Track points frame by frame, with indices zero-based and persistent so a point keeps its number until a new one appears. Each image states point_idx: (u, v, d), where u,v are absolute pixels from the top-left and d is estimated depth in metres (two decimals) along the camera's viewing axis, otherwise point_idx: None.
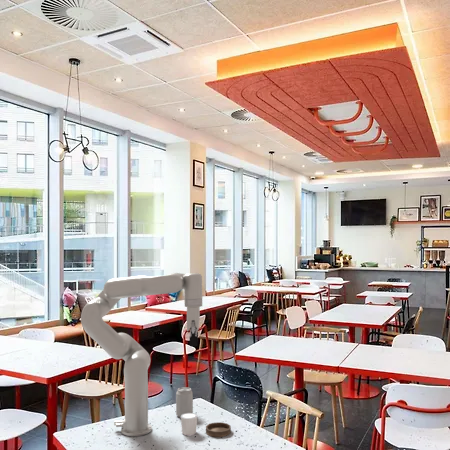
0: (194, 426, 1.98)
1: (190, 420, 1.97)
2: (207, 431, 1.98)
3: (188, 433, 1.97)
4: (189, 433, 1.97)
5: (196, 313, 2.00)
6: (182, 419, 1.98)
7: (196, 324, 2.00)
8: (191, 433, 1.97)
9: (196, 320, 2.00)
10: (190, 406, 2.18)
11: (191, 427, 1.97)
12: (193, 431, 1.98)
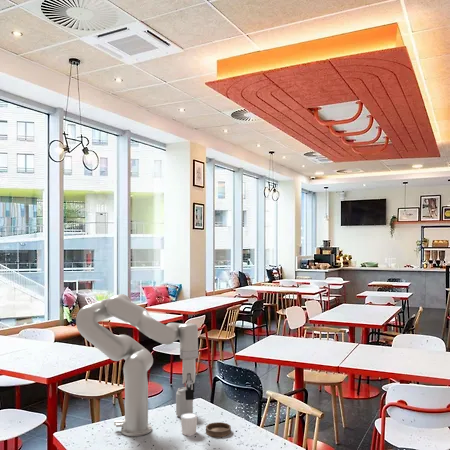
0: (194, 426, 1.98)
1: (190, 420, 1.97)
2: (207, 431, 1.98)
3: (188, 433, 1.97)
4: (189, 433, 1.97)
5: (192, 366, 1.96)
6: (182, 419, 1.98)
7: (192, 377, 1.96)
8: (191, 433, 1.97)
9: (192, 373, 1.96)
10: (190, 406, 2.18)
11: (191, 427, 1.97)
12: (193, 431, 1.98)
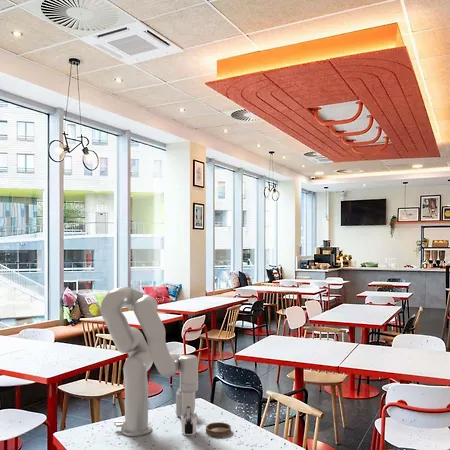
0: (194, 426, 1.98)
1: None
2: (207, 431, 1.98)
3: None
4: None
5: (191, 399, 1.96)
6: (182, 419, 1.98)
7: (191, 412, 1.95)
8: None
9: (191, 406, 1.96)
10: None
11: None
12: (193, 431, 1.98)
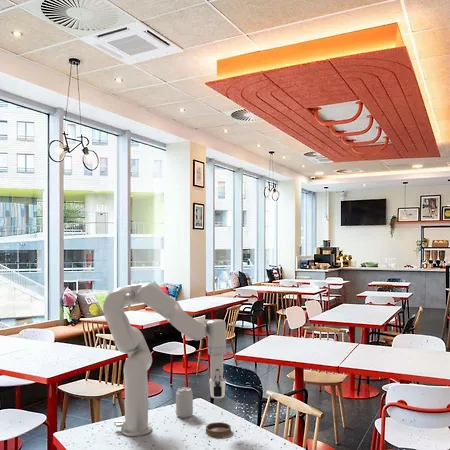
0: (223, 389, 1.99)
1: None
2: (207, 431, 1.98)
3: None
4: None
5: (220, 361, 1.97)
6: (211, 382, 1.99)
7: (220, 375, 1.96)
8: None
9: (220, 369, 1.96)
10: (190, 406, 2.18)
11: None
12: (222, 394, 1.99)
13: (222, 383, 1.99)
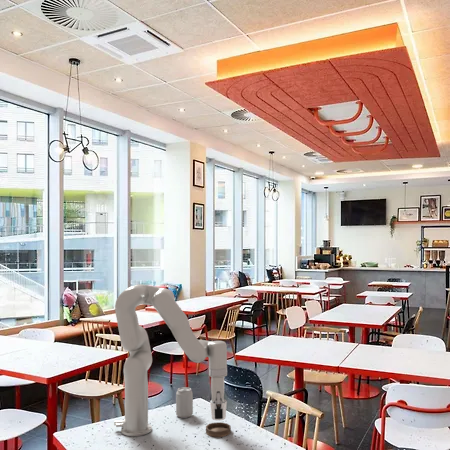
0: (224, 411, 1.99)
1: None
2: (207, 431, 1.98)
3: None
4: None
5: (221, 384, 1.97)
6: (212, 404, 1.99)
7: (221, 397, 1.96)
8: None
9: (221, 391, 1.96)
10: (190, 406, 2.18)
11: None
12: (223, 416, 1.98)
13: (223, 405, 1.98)
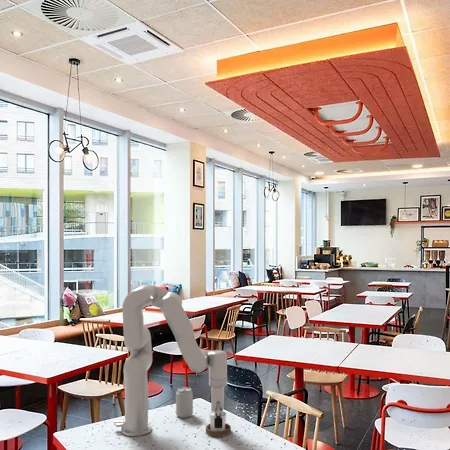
0: (223, 424, 1.98)
1: None
2: (207, 431, 1.98)
3: None
4: None
5: (221, 394, 1.96)
6: (211, 417, 1.98)
7: (221, 405, 1.96)
8: None
9: (221, 401, 1.96)
10: (190, 406, 2.18)
11: None
12: (222, 429, 1.98)
13: (222, 418, 1.98)
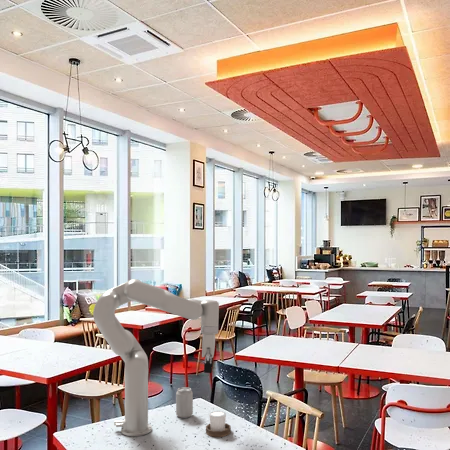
0: (223, 424, 1.98)
1: (219, 418, 1.97)
2: (207, 431, 1.98)
3: None
4: None
5: (211, 340, 2.04)
6: (211, 417, 1.98)
7: (211, 351, 2.04)
8: None
9: (211, 347, 2.04)
10: (190, 406, 2.18)
11: (220, 425, 1.98)
12: (222, 429, 1.98)
13: (222, 418, 1.98)
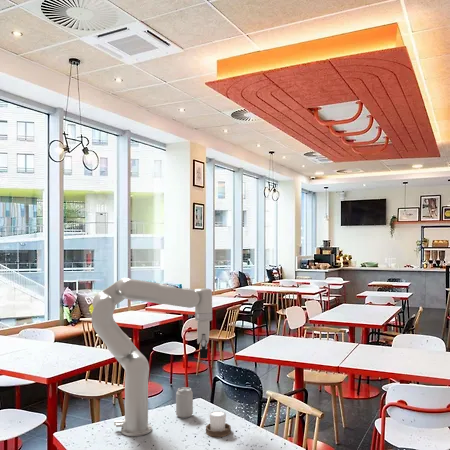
0: (223, 424, 1.98)
1: (219, 418, 1.97)
2: (207, 431, 1.98)
3: None
4: None
5: (206, 327, 2.10)
6: (211, 417, 1.98)
7: (206, 337, 2.10)
8: None
9: (206, 333, 2.10)
10: (190, 406, 2.18)
11: (220, 425, 1.98)
12: (222, 429, 1.98)
13: (222, 418, 1.98)
